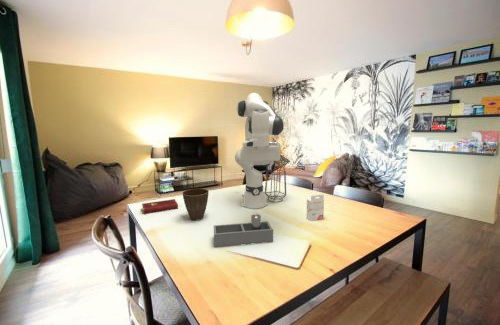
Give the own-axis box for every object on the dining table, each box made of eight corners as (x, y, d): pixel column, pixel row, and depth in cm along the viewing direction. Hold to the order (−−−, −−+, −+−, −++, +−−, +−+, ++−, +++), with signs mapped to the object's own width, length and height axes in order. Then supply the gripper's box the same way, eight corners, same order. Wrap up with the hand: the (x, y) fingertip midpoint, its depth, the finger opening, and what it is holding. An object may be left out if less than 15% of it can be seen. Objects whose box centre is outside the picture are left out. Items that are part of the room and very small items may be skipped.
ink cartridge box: (318, 216, 140) (319, 192, 138) (323, 219, 135) (324, 194, 133) (306, 217, 138) (306, 193, 136) (310, 221, 133) (311, 195, 131)
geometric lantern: (261, 198, 176) (261, 152, 171) (279, 196, 182) (280, 151, 178) (271, 204, 161) (272, 154, 157) (290, 202, 168) (292, 153, 164)
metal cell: (250, 234, 114) (250, 213, 112) (259, 233, 115) (259, 212, 113) (252, 238, 110) (252, 216, 108) (261, 237, 110) (261, 215, 109)
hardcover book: (178, 209, 155) (177, 203, 154) (143, 215, 145) (143, 208, 145) (174, 204, 165) (174, 198, 165) (142, 209, 156) (141, 203, 155)
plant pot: (203, 223, 130) (202, 196, 128) (178, 222, 133) (177, 194, 130) (213, 214, 144) (212, 189, 142) (190, 212, 147) (189, 188, 145)
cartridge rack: (213, 237, 114) (213, 225, 113) (267, 232, 118) (267, 221, 118) (214, 247, 104) (214, 234, 103) (273, 241, 109) (273, 229, 108)
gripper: (278, 141, 120) (278, 167, 123) (239, 142, 117) (239, 169, 119) (282, 142, 114) (282, 170, 117) (241, 143, 111) (241, 172, 113)
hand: (260, 169), depth 118 cm, fingers open, 8 cm apart
